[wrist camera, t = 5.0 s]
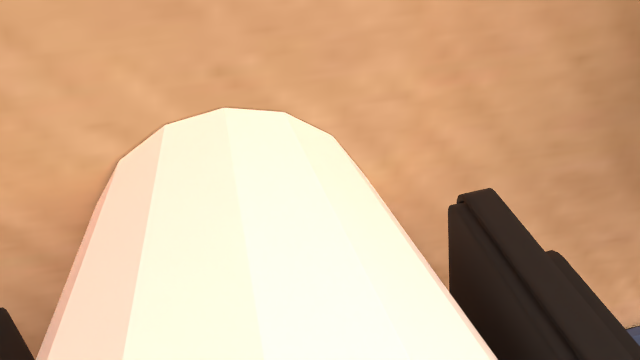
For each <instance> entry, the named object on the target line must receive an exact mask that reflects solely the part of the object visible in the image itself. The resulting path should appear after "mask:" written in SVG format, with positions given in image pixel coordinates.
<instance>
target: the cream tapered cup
mask: <svg viewBox="0 0 640 360" xmlns="http://www.w3.org/2000/svg"><path fill="white" fill-rule="evenodd" d="M36 360H498V359H497V358H496V356H495V355H494V353H493V352H492V351H491V349H490V348H489V347H488V345H487V344H486V342H485V341H484V340H483V338H482V337H481V336H480V334H479V333H478V331H477V330H476V329H475V327H474V326H473V324H472V323H471V322H470V320H469V319H468V318H467V316H466V315H465V313H464V312H463V311H462V309H461V308H460V306H459V305H458V304H457V302H456V301H455V300H454V298H453V297H452V295H451V294H450V293H449V291H448V290H447V288H446V287H445V286H444V284H443V283H442V282H441V280H440V279H439V277H438V276H437V275H436V273H435V272H434V270H433V269H432V268H431V266H430V265H429V264H428V262H427V261H426V259H425V258H424V257H423V255H422V254H421V253H420V251H419V250H418V248H417V247H416V246H415V244H414V243H413V241H412V240H411V239H410V237H409V236H408V235H407V233H406V232H405V230H404V229H403V228H402V226H401V225H400V223H399V222H398V221H397V219H396V218H395V217H394V215H393V214H392V212H391V211H390V210H389V208H388V207H387V205H386V204H385V203H384V201H383V200H382V199H381V197H380V196H379V194H378V193H377V192H376V190H375V189H374V187H373V186H372V185H371V183H370V182H369V181H368V179H367V178H366V176H365V175H364V174H363V172H362V171H361V170H360V169H359V167H358V166H357V165H356V164H355V163H354V161H353V160H352V159H351V158H350V157H349V155H348V154H347V153H346V152H345V150H344V149H343V148H342V147H341V146H340V144H339V143H338V142H337V141H336V139H335V138H334V137H333V136H332V135H330V134H328V133H326V132H324V131H322V130H319V129H317V128H315V127H313V126H311V125H309V124H307V123H305V122H303V121H301V120H299V119H297V118H295V117H293V116H291V115H289V114H287V113H284V112H275V111H262V110H248V109H234V108H221V109H218V110H214V111H211V112H208V113H204V114H201V115H197V116H194V117H191V118H187V119H184V120H180V121H177V122H173V123H170V124H167V125H164V126H163V127H162V128H160V129H159V130H158V131H157V132H155V133H154V134H153V135H151V136H150V137H149V138H148V139H146V140H145V141H144V142H142V143H141V144H140V145H139V146H137V147H136V148H135V149H133V150H132V151H131V152H130V153H128V154H127V155H126V156H124V157H123V158H122V159H121V160H119V162H118V164H117V166H116V168H115V170H114V172H113V174H112V176H111V178H110V179H109V181H108V183H107V185H106V187H105V189H104V191H103V193H102V195H101V197H100V199H99V201H98V203H97V205H96V207H95V209H94V212H93V214H92V217H91V220H90V222H89V225H88V227H87V230H86V232H85V235H84V237H83V240H82V243H81V245H80V248H79V250H78V253H77V255H76V258H75V261H74V263H73V266H72V268H71V271H70V273H69V276H68V279H67V281H66V284H65V286H64V289H63V291H62V294H61V297H60V299H59V302H58V304H57V307H56V309H55V312H54V315H53V317H52V320H51V322H50V325H49V327H48V330H47V332H46V335H45V338H44V340H43V343H42V345H41V348H40V350H39V353H38V356H37V358H36Z"/></svg>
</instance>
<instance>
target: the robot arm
mask: <svg viewBox="0 0 640 360" xmlns="http://www.w3.org/2000/svg"><path fill="white" fill-rule="evenodd" d="M448 235H449V292H450V294H451V295H452V297H453V298H454V300H455V301H456V302H457V304H458V305H459V306H460V308H461V309H462V311H463V312H464V313H465V315H466V316H467V318H468V319H469V320H470V322H471V323H472V324H473V326H474V327H475V329H476V330H477V331H478V333H479V334H480V336H481V337H482V338H483V340H484V341H485V342H486V344H487V345H488V347H489V348H490V349H491V351H492V352H493V353H494V355H495V356H496V358H497V359H498V360H640V346H639V345H638V343H637V342H636V341H635V340H634V339H633V338H632V336H631V335H630V334H629V333H628V332H627V331H626V329H625V328H624V327H623V326H622V325H621V324H620V322H619V321H618V320H617V319H616V318H615V317H614V316H613V314H612V313H611V312H610V311H609V310H608V309H607V307H606V306H605V305H604V304H603V303H602V302H601V300H600V299H599V298H598V297H597V296H596V295H595V293H594V292H593V291H592V290H591V289H590V288H589V286H588V285H587V284H586V283H585V282H584V281H583V279H582V278H581V277H580V276H579V275H578V274H577V272H576V271H575V270H574V269H573V268H572V267H571V265H570V264H569V263H568V262H567V261H566V260H565V258H564V257H562V256H561V255H560V254H559V253H558V252H555V251H553V250H551V251H547V252H545V251H544V250H543V249H542V248H541V246H540V245H539V244H538V243H537V242H536V240H535V239H534V238H533V237H532V235H531V234H530V233H529V232H528V231H527V229H526V228H525V227H524V226H523V225H522V223H521V222H520V221H519V220H518V219H517V217H516V216H515V215H514V214H513V213H512V211H511V210H510V209H509V208H508V206H507V205H506V204H505V203H504V202H503V200H502V199H501V198H500V197H499V196H498V194H497V193H496V192H495V191H494V190H493V189H491V188H487V189H483V190H478V191H474V192H470V193H465V194H461V195H459V196H458V198H457V204H454V205H450V206H449V209H448ZM0 360H35V359H34V358H33V356H32V354H31V352H30V350H29V349H28V347H27V345H26V343H25V342H24V340H23V338H22V336H21V335H20V333H19V331H18V329H17V327H16V326H15V324H14V322H13V320H12V319H11V317H10V315H9V313H8V312H7V310H6V309H4V308H0Z"/></svg>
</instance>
